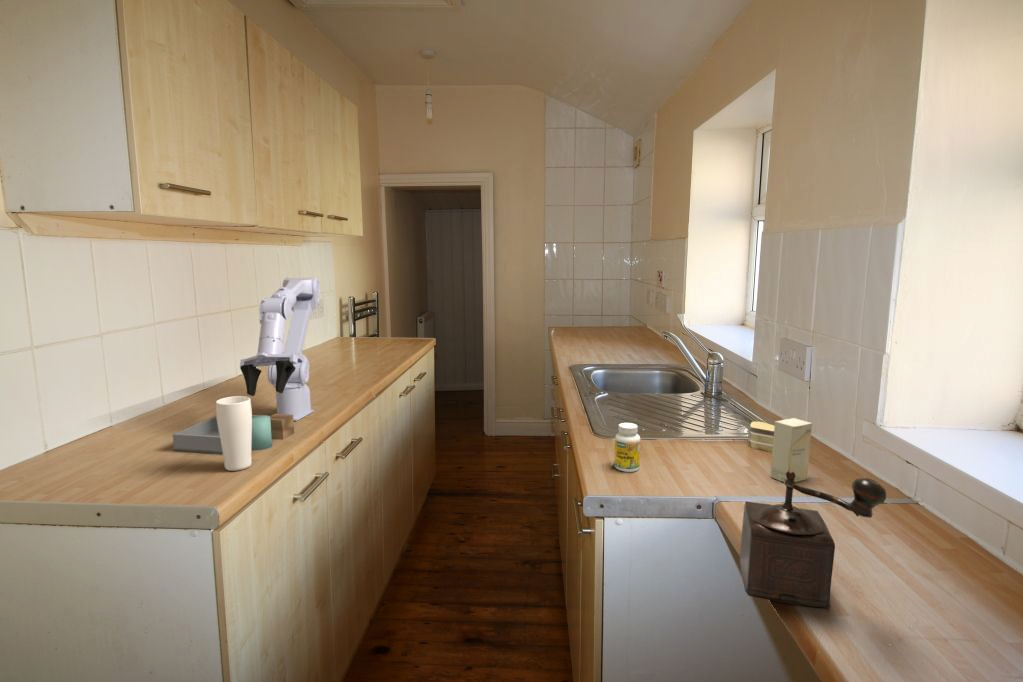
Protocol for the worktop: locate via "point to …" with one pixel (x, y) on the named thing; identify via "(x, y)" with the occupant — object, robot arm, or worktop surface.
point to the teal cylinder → (261, 432)
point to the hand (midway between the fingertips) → (264, 393)
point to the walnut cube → (281, 426)
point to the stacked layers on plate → (762, 436)
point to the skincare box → (791, 449)
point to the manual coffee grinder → (796, 545)
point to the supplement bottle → (627, 448)
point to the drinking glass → (235, 431)
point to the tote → (200, 438)
